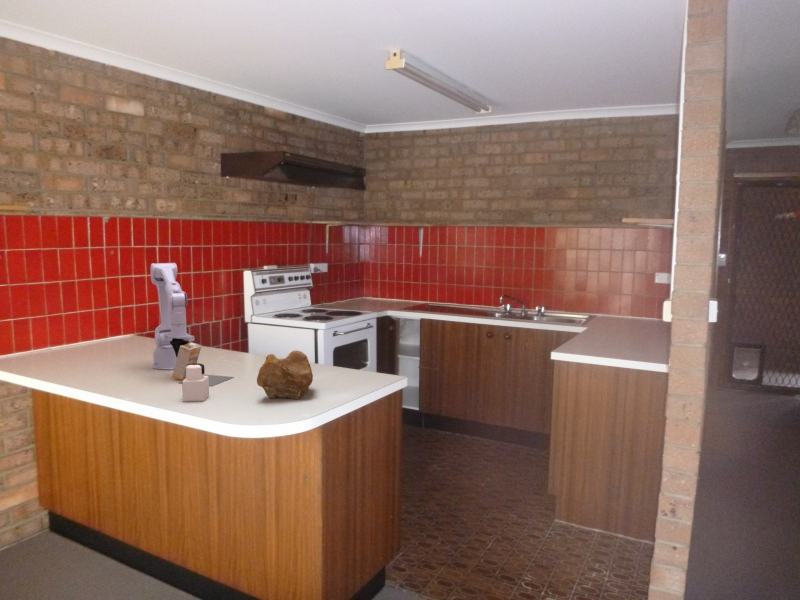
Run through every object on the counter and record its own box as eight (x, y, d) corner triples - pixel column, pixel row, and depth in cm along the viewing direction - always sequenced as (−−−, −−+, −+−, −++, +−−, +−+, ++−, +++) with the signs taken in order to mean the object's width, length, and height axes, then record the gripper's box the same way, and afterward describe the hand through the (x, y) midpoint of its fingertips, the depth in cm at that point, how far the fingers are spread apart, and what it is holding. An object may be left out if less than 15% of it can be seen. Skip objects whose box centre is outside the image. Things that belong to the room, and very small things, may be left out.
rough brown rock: (288, 409, 191) (291, 365, 189) (249, 398, 199) (252, 355, 197) (328, 394, 212) (331, 354, 210) (291, 385, 219) (294, 346, 217)
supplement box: (182, 381, 224) (190, 349, 222) (171, 376, 225) (179, 345, 223) (194, 376, 232) (202, 345, 230) (183, 371, 233) (191, 341, 231)
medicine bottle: (188, 395, 204) (187, 362, 203) (209, 395, 205) (208, 361, 203) (182, 401, 197) (181, 366, 196) (204, 401, 198) (203, 366, 196)
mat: (178, 383, 221) (178, 382, 221) (201, 374, 234) (201, 374, 234) (211, 386, 217) (212, 385, 217) (233, 377, 230) (233, 377, 230)
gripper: (199, 323, 227) (201, 357, 228) (173, 320, 233) (174, 354, 235) (185, 326, 221) (187, 361, 222) (158, 323, 227) (160, 357, 229)
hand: (179, 358), depth 228 cm, fingers closed
